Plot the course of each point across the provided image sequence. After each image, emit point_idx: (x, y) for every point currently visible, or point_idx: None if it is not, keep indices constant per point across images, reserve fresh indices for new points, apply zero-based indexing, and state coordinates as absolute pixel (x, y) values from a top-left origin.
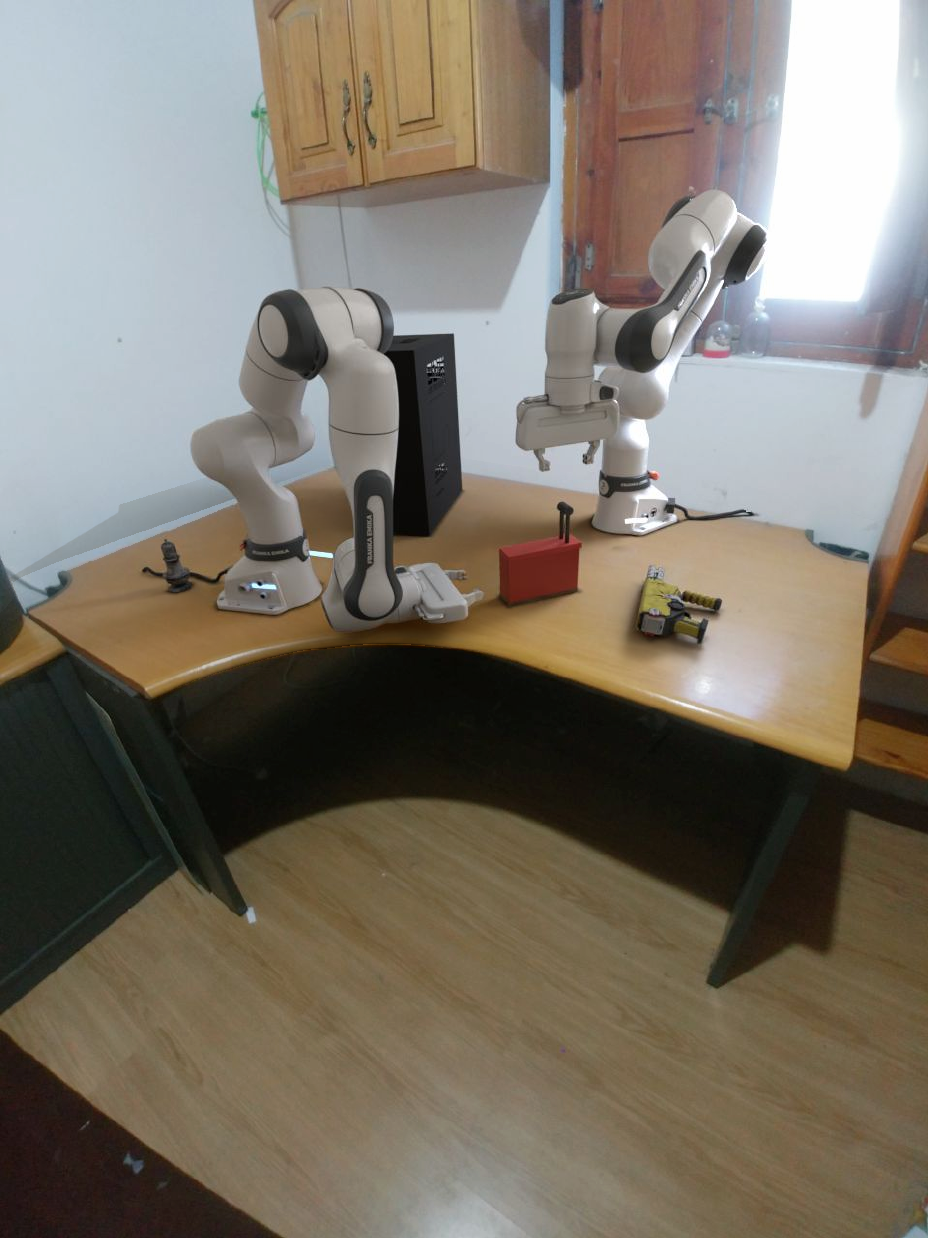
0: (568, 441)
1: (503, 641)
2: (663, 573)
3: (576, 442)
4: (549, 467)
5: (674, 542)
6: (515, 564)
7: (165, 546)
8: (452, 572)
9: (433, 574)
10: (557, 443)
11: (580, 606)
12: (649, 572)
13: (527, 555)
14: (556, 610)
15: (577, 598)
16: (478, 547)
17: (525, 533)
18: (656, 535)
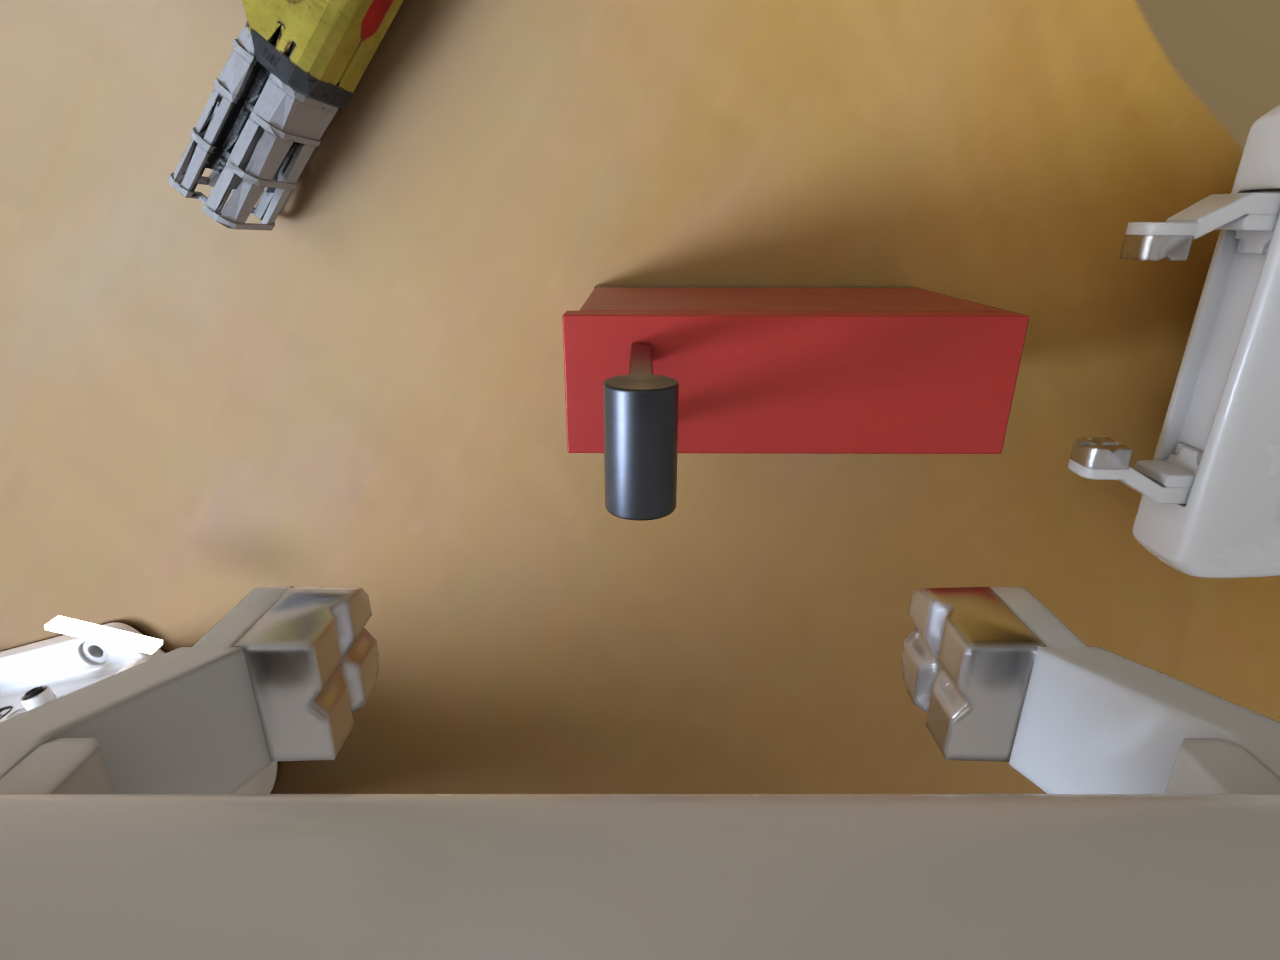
0: (745, 841)
1: (1094, 8)
2: (194, 128)
3: (503, 796)
4: (942, 598)
5: (5, 514)
6: (963, 309)
7: None
8: (1145, 476)
9: (1269, 459)
10: (1078, 832)
11: (649, 153)
12: (261, 150)
13: (907, 314)
14: (758, 166)
15: (625, 227)
16: (763, 774)
17: None
18: (56, 601)
